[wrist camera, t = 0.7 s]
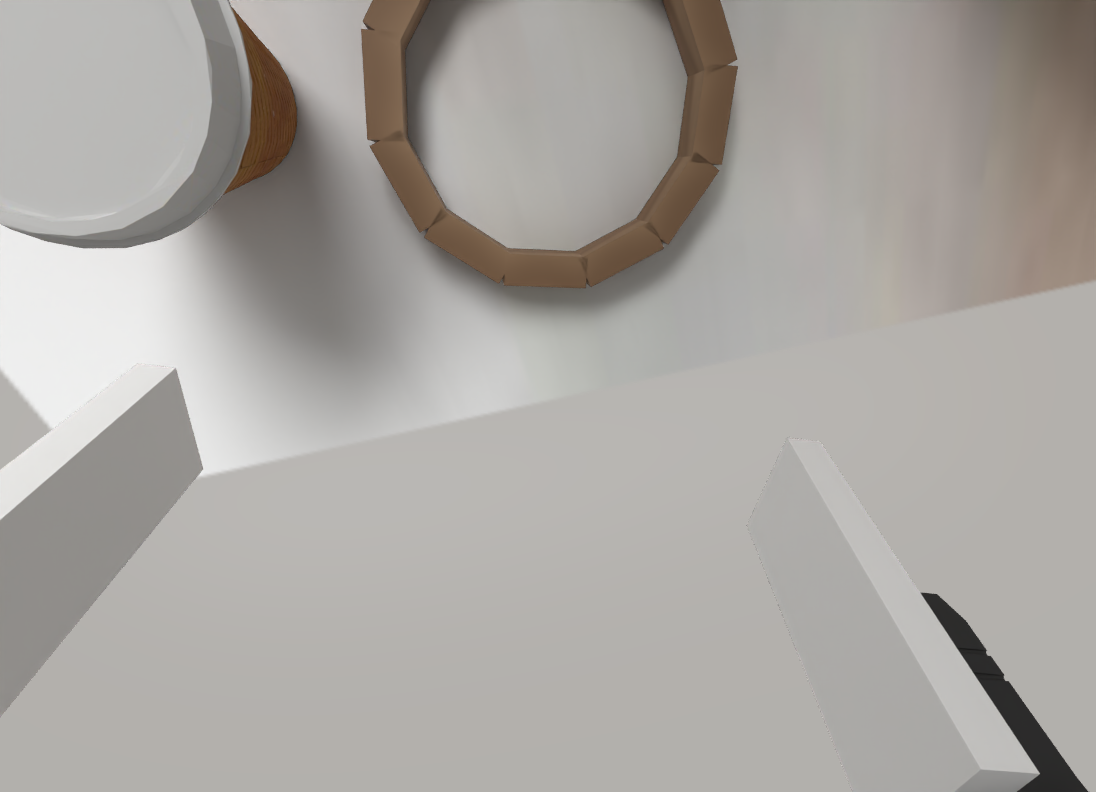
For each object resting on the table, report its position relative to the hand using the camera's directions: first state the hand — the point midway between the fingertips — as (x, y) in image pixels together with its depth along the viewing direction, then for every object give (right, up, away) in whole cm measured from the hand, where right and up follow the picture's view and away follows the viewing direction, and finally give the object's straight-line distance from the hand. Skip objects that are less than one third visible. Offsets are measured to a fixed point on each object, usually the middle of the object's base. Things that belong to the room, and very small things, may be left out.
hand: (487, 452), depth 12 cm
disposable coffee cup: (-13, +14, +12) cm, 22 cm away
